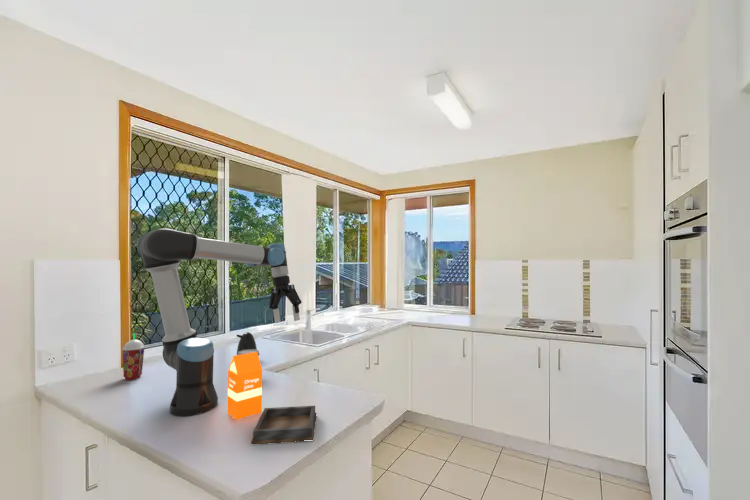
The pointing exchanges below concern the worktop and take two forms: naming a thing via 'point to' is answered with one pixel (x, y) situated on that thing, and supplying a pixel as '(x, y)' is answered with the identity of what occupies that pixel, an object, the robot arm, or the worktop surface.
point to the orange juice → (244, 386)
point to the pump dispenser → (246, 342)
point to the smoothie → (133, 359)
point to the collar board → (285, 425)
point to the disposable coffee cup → (248, 351)
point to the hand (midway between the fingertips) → (287, 321)
